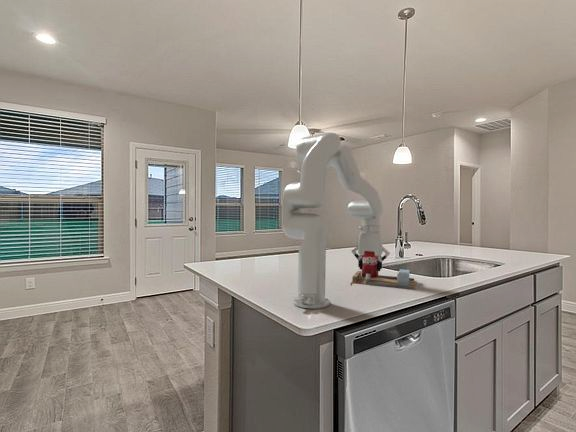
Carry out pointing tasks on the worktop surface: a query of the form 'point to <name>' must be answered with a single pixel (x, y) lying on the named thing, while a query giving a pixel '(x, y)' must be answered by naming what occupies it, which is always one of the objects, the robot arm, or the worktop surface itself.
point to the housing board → (382, 281)
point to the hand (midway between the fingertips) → (369, 269)
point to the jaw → (403, 277)
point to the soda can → (369, 264)
